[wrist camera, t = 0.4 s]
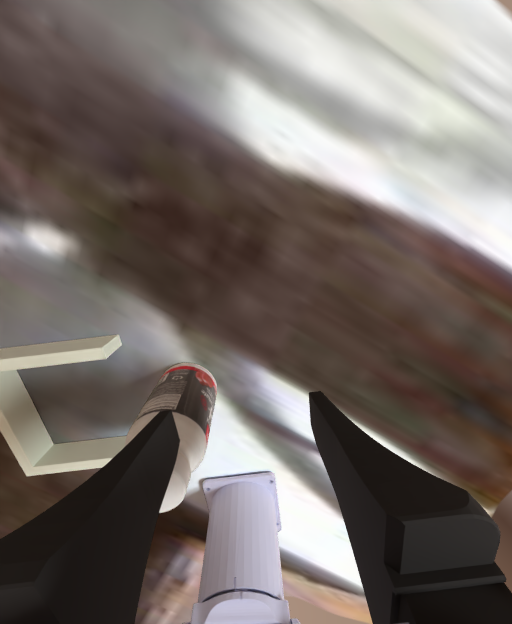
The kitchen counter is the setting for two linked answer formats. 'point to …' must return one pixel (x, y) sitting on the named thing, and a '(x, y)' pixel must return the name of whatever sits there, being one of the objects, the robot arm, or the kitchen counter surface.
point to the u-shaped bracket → (26, 421)
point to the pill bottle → (182, 421)
